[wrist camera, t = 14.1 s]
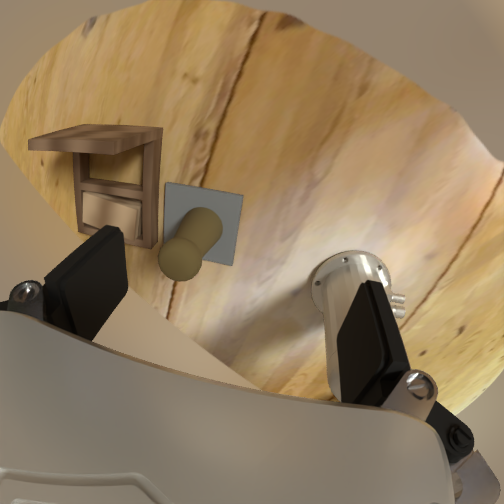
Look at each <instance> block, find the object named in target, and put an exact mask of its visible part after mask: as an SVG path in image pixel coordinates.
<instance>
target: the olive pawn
mask: <svg viewBox="0 0 504 504" xmlns="http://www.w3.org/2000/svg"><path fill="white" fill-rule="evenodd" d="M222 233H223V225H222V221H221V219H220V218H219V216H218V215H217V214H216V213H215V212H214V211H212V210H210V209H208V208H204V207H197V208H193V209H191V210H189V211H188V212H187V213H186V215H185V216H184V218H183V220H182V222H181V224H180V226H179V228H178V230H177V232H176V234H175V236H174V238H172V239H170V240H168V241H167V242H165V244H164V245H163V246H162V247H161V248H160V251H159V255H158V263H159V266H160V269H161V271H162V272H163V273H164V274H165V275H166V276H167V277H168V278H170V279H172V280H175V281H187V280H190V279H192V278H193V277H194V276H195V275H196V274H197V273H198V272H199V270H200V268H201V265H202V258H203V257H204V256H205V254H206V253H207V252H208V251H209V250H210V249H211V248H212V247H213V246H214V245H215V243H216V242H217V241H218V240H219V239H220V238H221V235H222Z"/></svg>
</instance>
